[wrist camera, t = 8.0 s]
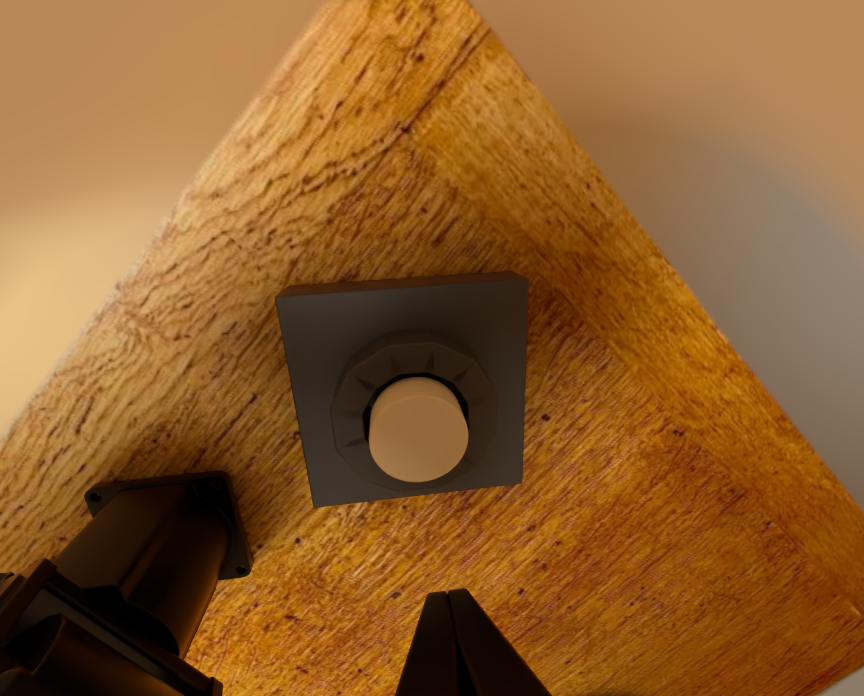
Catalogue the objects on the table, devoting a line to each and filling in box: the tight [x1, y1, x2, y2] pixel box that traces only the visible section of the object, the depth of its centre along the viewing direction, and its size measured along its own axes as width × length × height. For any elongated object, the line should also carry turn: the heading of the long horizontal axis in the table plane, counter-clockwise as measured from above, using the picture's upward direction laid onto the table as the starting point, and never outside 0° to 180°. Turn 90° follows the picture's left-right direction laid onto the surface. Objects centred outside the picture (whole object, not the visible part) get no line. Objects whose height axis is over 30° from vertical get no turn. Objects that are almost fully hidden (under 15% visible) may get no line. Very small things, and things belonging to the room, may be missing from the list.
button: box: [369, 377, 468, 482], centre depth 15 cm, size 4×4×2 cm
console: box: [275, 271, 529, 508], centre depth 17 cm, size 10×10×4 cm
